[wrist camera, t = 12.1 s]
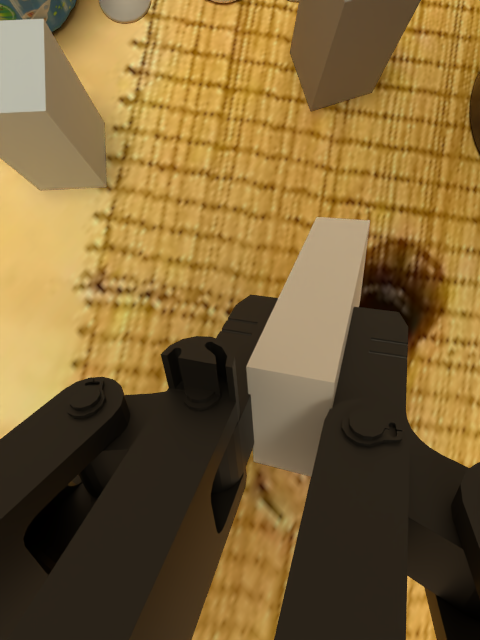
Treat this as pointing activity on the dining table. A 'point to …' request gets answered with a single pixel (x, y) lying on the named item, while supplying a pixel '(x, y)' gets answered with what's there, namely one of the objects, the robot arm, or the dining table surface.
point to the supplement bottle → (223, 1)
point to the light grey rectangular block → (46, 112)
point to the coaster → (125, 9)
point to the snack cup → (37, 11)
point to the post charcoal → (345, 45)
